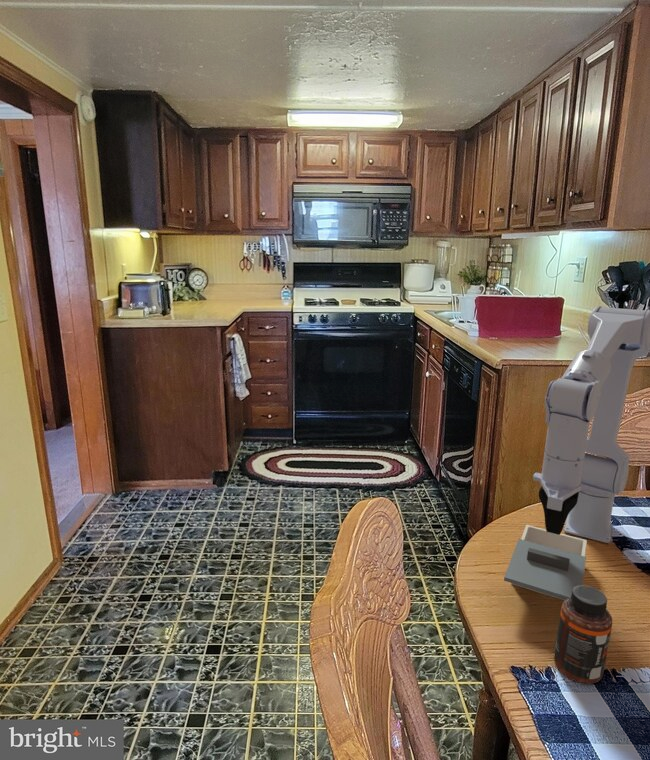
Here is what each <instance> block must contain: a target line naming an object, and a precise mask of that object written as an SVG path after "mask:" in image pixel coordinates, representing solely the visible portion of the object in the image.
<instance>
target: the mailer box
mask: <svg viewBox="0 0 650 760" xmlns="http://www.w3.org/2000/svg"><path fill="white" fill-rule="evenodd" d="M520 539H522V540H525V541H529V542H533V543H537V544H540V545H544V546H548V547H551V548H555V549H559V550H562V551H566V552H570V553H574V554H577V555H581V556H585V555H586V549H587V541H588V540H587V539H583V538H580V537H575V536H571V535H568V534H564V533H561V534H560V535H558V534H554V533H550V532H547V531H546V528H540V527H537V526H533V525H528V524H525V527H524V529H523V533H522V536H521V537H520ZM585 557H586V556H585ZM510 584H511V585H514V586H517V587H521V588H524V589H527V590H530V591H532V592H533V591H534V592H536V593H538V594H539V593H540V594H543V595H545V596H548V597H549V596H550V597H552V598H556V599H558V600H562V601H565V600H564V599H561V598H558V597H555V596H552V595H548V594H545V593H542V592H539V591H536V590H532V589H529V588H526V587H523V586H520V585H516V584H513V583H510Z"/></svg>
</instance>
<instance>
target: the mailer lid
mask: <svg viewBox="0 0 650 760" xmlns="http://www.w3.org/2000/svg"><path fill="white" fill-rule="evenodd" d="M586 559H587V556H581V555H577V554H574V553H570V552H566V551H562V550H559V549H555V548H551V547H548V546H544V545H540V544H537V543H533V542H529V541H525V540H522V539H521V538H518V540H517V542H516V544H515V548H514V551H513V553H512V556H511V558H510V561H509V564H508V566H507V569H506V572H505V574H504V577H503V581H504V582H507V583H510V584H511V583H513V584H516V585H515V586H517V585H520V586H523V587H526V588H529V589H532V590H531V591H533V590H536V591H539V592H542V593H545V594H548V595H547V596H549V595H552V596H555V597H558V598H561V599H564V600H563V601H565V600H566V599H568V598H571V595H572V590H573V588H574V587H576V586H580V585H584V584H583V583H584V576H585V568H586V562H587V561H586ZM513 584H512V585H513ZM520 586H519V587H520ZM523 587H522V588H523ZM526 588H525V589H526ZM529 589H528V590H529ZM536 591H535V592H536ZM539 592H538V593H539ZM542 593H541V594H542ZM545 594H544V595H545ZM552 596H551V597H552ZM555 597H554V598H555ZM558 598H557V599H558ZM561 599H560V600H561Z"/></svg>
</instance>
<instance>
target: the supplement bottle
mask: <svg viewBox="0 0 650 760" xmlns="http://www.w3.org/2000/svg"><path fill="white" fill-rule="evenodd" d="M607 603H608V599H607V596H606V595H605V594H604V592H602V591H600V590H599V589H597V588H596V587H592V586H589V585H584V584H583V585H580V586H576V587H574V588H573V590H572V595H571V598H568V599H566V600H563V602H562V605H561V608H560V614H559V620H558V626H557V631H556V632H557V633H556V639H555V640H556V641H555V647H554V658H553V659H554V663H555V666H556V668H558V670H559V671H560V672H561V673H562V674H563V675H564V676H565V677H567V678H569V679H571V680H573V681H575V682H577V683H580V684H584V685H585V684H587V685H588V684H589V685H591V684H596V683H598V682H600V681H601V680H602V679H603V676H604V672H605V667H606V662H607V655H608V650H609V645H610V639H611V633H612V626H613V618H612V615H611V613H610V612H609V610H608V609H607V607H608V606H607Z"/></svg>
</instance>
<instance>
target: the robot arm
mask: <svg viewBox="0 0 650 760" xmlns="http://www.w3.org/2000/svg"><path fill="white" fill-rule="evenodd" d="M587 334H588V337H589V339H590V342H589V343H588V346H587V347H586V349H585V350H582V351H579V352H578V353H576V355H575V356H574V357H573V359H572V360H571V362H570V363H569V365H568V367H567V369H566V370H565V372H564V373H563V375H562V377H558V378H557V379H556V380H554V379H553V380H552V381H550V383H549V384H548V386H547V390H546V393H545V397H544V410H545V419H544V421H545V424H547V430H546V437H545V438H546V439H545V445H544V453H543V460H542V467H541V468H542V469H541V473H540V472H535V473H534V474H533V476H532V479H533V481H535V482H538V483H540V485H541V486H540V488H539V490H538V498H539V501H540V503H541V505H542V508H543V513H544V526H545V530H546V531H547V532H550V533H554V534H558V535H560V534H562V531H564V533H566V534H569V535H570V534H571V535H573V536H574V535H575V536H578V537H581V538H586V539H589V540H594V541H598V542H602V543H605V544H606V543H607V544H610V543H611V535H612V534H611V533H612V532H611V531H612V520H611V518H612V513H613V507H614V506H613V505H614V501H615V495H620V494H621V493H623V492H624V490H625V488H626V486H627V482H628V476H629V472H630V471H629V469H630V468H629V467H630V466H629V465H630V455H629V454H628V453H627V452H626V450H624V449H623V447H622V446H620V444H619V443H618V442H617V440H618V435H619V432H620V426H621V423H622V422H621V421H622V416H623V412H624V408H625V403H626V398H627V393H628V389H629V384H630V380H631V375H632V371H633V368H634V365H635V363H636V361H637V359H640V358H643V357H647V356H648V354H649V351H650V309H648V310H645V309H643V310H642V309H634V308H633V309H630V308H618V307H617V308H616V307H615V308H614V307H603V306H599V305H596V307H594V308H593V309H592V311H591V312H590V315H589V318H588V323H587ZM590 421H592V424H591V427H590ZM589 429H590V433H589ZM588 436H589V437H588ZM563 529H564V530H563Z"/></svg>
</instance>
